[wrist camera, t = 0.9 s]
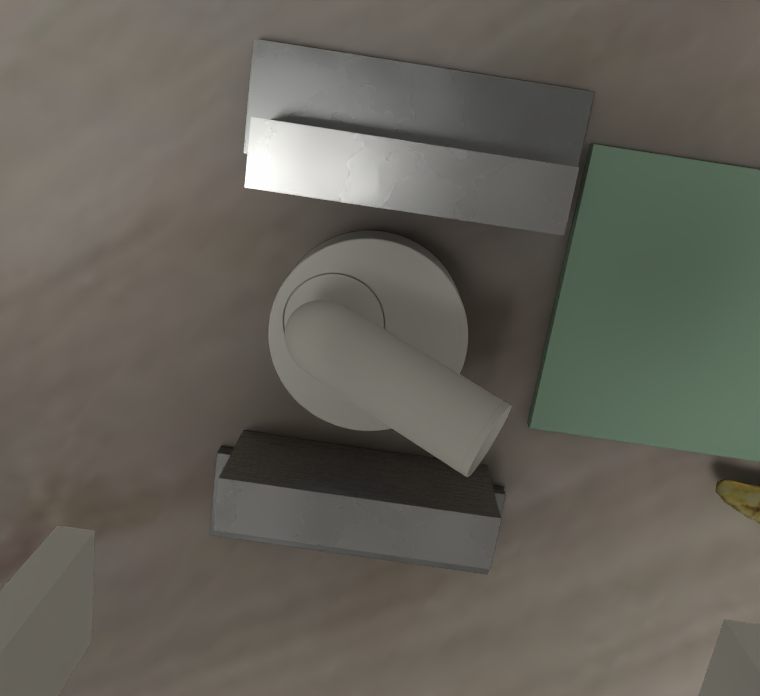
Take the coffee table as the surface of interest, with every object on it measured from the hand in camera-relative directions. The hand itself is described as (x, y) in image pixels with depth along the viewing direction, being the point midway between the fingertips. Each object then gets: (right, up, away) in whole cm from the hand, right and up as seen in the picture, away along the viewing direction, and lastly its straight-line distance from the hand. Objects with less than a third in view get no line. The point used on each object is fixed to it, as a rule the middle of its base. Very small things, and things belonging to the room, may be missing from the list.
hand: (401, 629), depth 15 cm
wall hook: (0, +7, +18) cm, 19 cm away
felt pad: (+14, +7, +17) cm, 24 cm away
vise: (0, +7, +18) cm, 19 cm away
